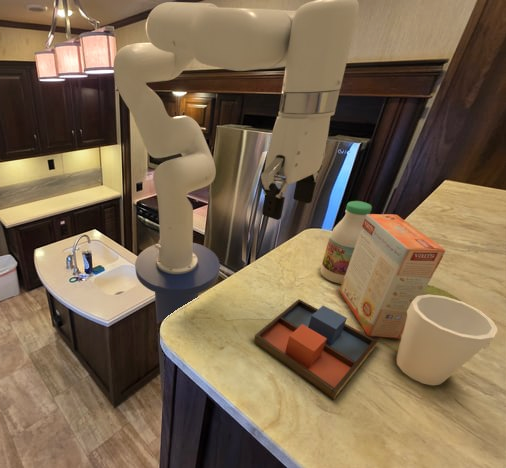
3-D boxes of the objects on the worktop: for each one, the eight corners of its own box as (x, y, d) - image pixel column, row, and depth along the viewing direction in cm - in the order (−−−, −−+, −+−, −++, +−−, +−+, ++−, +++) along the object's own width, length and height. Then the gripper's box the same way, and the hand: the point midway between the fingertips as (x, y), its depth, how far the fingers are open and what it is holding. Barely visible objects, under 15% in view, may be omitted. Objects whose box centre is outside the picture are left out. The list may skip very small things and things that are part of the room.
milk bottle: (334, 263, 79) (355, 195, 69) (362, 279, 72) (390, 206, 63) (312, 271, 77) (331, 201, 67) (339, 288, 70) (364, 214, 60)
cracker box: (401, 340, 56) (449, 249, 46) (366, 337, 57) (406, 248, 47) (366, 292, 68) (398, 212, 58) (338, 291, 69) (365, 212, 59)
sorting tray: (253, 341, 58) (254, 334, 57) (297, 305, 66) (298, 298, 65) (333, 399, 47) (336, 392, 46) (374, 348, 55) (377, 340, 54)
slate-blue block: (306, 331, 59) (311, 315, 57) (318, 321, 61) (322, 305, 59) (330, 345, 55) (336, 329, 53) (341, 334, 58) (347, 317, 55)
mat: (386, 303, 65) (389, 297, 64) (402, 282, 70) (405, 276, 69) (455, 333, 57) (460, 326, 56) (468, 306, 62) (472, 299, 61)
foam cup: (399, 338, 56) (425, 287, 50) (464, 373, 50) (504, 318, 43) (376, 363, 52) (402, 311, 46) (444, 405, 45) (485, 350, 39)
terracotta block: (285, 352, 55) (289, 335, 53) (297, 340, 57) (302, 323, 55) (308, 368, 52) (314, 351, 50) (321, 355, 54) (327, 338, 52)
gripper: (311, 97, 50) (293, 190, 58) (249, 110, 42) (238, 217, 50) (361, 98, 44) (333, 200, 53) (300, 113, 36) (279, 232, 44)
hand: (287, 208), depth 51 cm, fingers open, 9 cm apart
